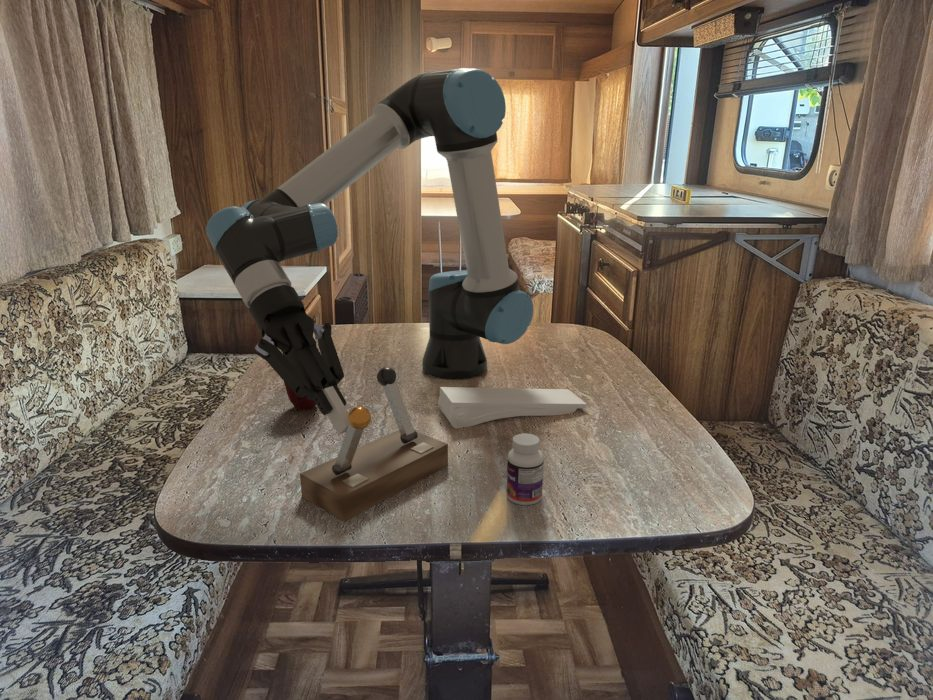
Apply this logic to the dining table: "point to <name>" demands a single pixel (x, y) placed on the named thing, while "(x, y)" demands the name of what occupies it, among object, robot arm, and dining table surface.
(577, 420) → the dining table surface
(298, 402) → the mug
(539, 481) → the pill bottle
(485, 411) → the wall bracket
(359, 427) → the orange knob lever
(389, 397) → the black knob lever
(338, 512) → the switch box
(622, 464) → the dining table surface
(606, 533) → the dining table surface
